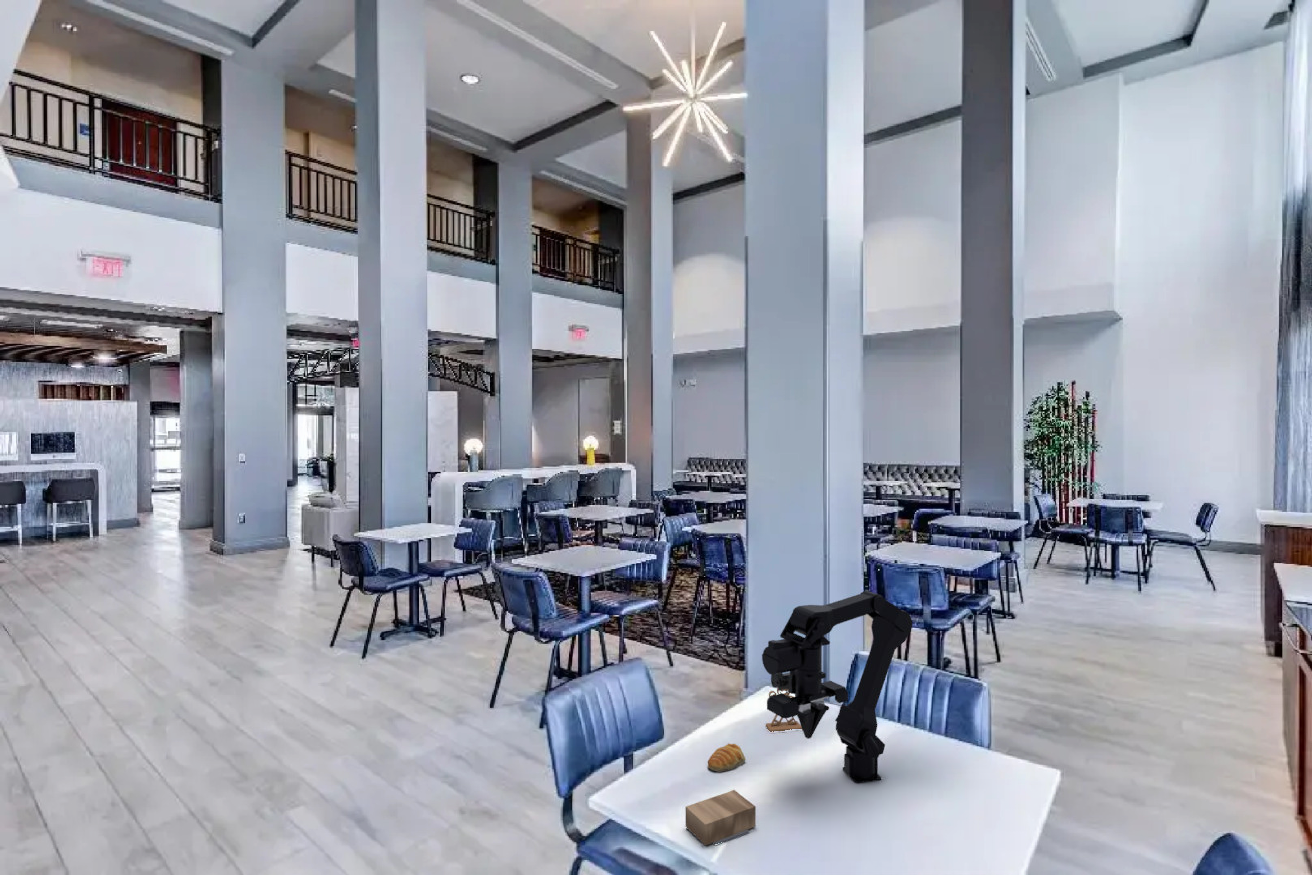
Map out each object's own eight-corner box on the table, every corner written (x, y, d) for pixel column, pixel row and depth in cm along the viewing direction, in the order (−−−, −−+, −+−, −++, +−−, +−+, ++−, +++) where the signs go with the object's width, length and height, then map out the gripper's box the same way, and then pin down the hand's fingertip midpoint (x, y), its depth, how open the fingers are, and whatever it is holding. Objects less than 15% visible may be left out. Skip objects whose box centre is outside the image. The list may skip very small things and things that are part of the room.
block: (734, 789, 140) (685, 806, 134) (755, 806, 134) (705, 824, 128) (734, 808, 140) (685, 826, 134) (755, 826, 134) (705, 845, 128)
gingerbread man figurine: (797, 724, 181) (797, 679, 181) (802, 730, 177) (802, 685, 177) (765, 726, 179) (765, 681, 179) (770, 733, 176) (769, 687, 175)
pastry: (722, 777, 154) (722, 761, 154) (700, 767, 159) (700, 751, 159) (747, 763, 161) (747, 747, 161) (725, 753, 165) (725, 738, 165)
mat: (725, 812, 140) (725, 810, 140) (749, 832, 133) (749, 830, 133) (692, 824, 136) (692, 822, 136) (715, 845, 129) (715, 843, 129)
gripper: (814, 648, 158) (813, 714, 159) (750, 662, 149) (750, 733, 149) (849, 662, 149) (849, 733, 149) (784, 679, 139) (784, 754, 140)
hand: (807, 737), depth 147 cm, fingers closed
